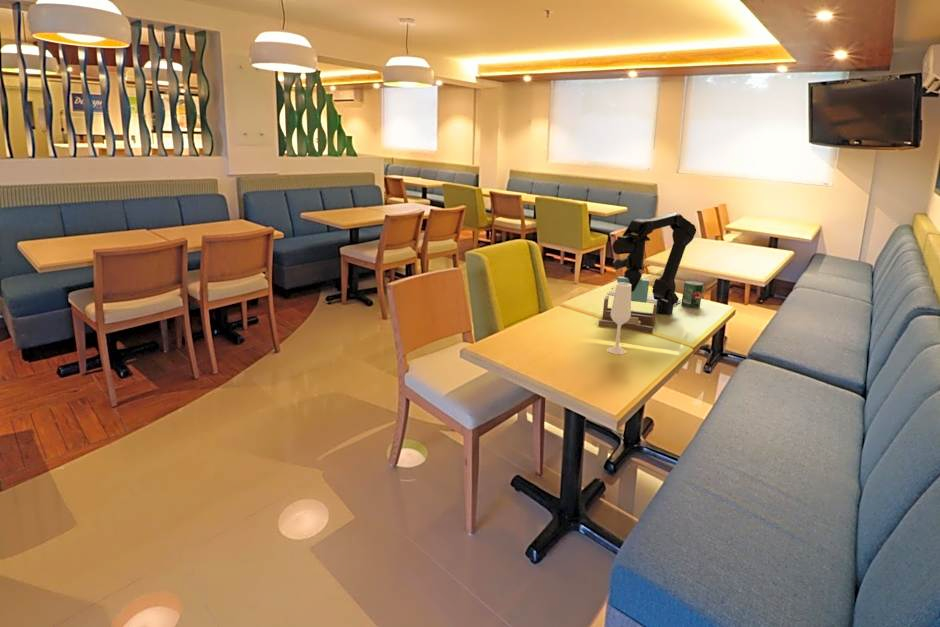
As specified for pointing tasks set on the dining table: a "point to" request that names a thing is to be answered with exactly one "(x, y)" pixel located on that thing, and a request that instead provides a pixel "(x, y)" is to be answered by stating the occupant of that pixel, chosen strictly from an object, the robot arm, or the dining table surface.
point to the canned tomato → (692, 294)
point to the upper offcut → (633, 320)
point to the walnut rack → (644, 317)
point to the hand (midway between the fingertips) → (632, 290)
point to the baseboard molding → (649, 297)
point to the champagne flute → (620, 312)
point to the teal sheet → (637, 289)
